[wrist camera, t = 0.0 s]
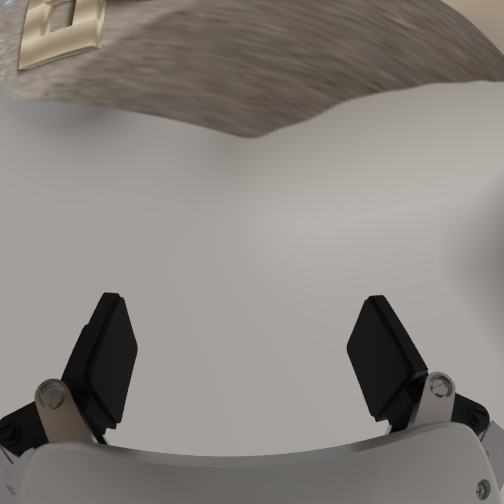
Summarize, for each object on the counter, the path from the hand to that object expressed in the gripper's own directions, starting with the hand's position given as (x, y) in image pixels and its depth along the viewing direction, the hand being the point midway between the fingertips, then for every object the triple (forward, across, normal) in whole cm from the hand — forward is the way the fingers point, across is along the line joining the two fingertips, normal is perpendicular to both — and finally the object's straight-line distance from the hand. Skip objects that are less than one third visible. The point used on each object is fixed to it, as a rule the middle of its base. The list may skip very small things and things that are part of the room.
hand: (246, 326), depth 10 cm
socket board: (+31, +27, -25) cm, 48 cm away
